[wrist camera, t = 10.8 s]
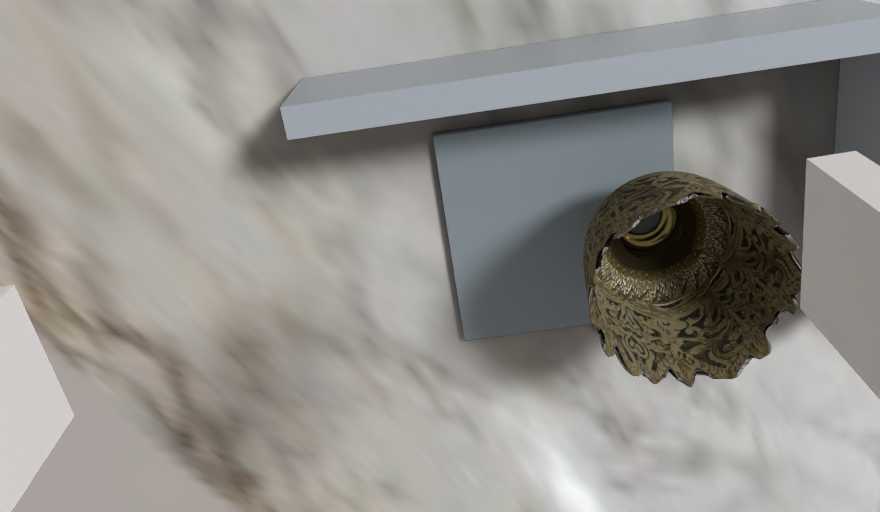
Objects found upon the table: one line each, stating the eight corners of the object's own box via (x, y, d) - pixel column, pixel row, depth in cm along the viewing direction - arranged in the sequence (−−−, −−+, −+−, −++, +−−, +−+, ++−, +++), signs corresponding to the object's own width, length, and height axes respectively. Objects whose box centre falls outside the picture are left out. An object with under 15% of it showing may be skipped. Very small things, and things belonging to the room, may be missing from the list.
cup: (662, 316, 36) (720, 419, 29) (526, 249, 35) (551, 339, 27) (760, 182, 34) (852, 258, 26) (617, 102, 32) (672, 159, 25)
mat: (432, 134, 33) (432, 136, 33) (669, 99, 32) (671, 101, 32) (464, 336, 37) (464, 340, 37) (674, 308, 37) (677, 312, 36)
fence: (301, 79, 32) (279, 107, 27) (874, -8, 31) (951, 6, 26) (359, 341, 37) (348, 402, 33) (852, 275, 36) (913, 329, 31)
